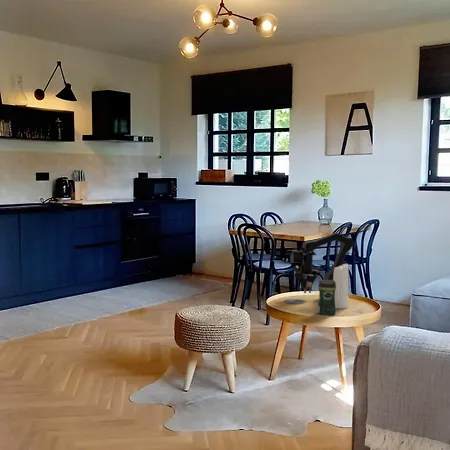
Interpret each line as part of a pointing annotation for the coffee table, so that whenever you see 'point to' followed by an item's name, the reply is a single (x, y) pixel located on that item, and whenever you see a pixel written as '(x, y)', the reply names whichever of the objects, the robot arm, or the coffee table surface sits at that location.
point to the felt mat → (294, 301)
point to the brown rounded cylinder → (308, 286)
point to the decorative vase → (341, 286)
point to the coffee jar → (326, 297)
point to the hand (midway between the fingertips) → (306, 287)
